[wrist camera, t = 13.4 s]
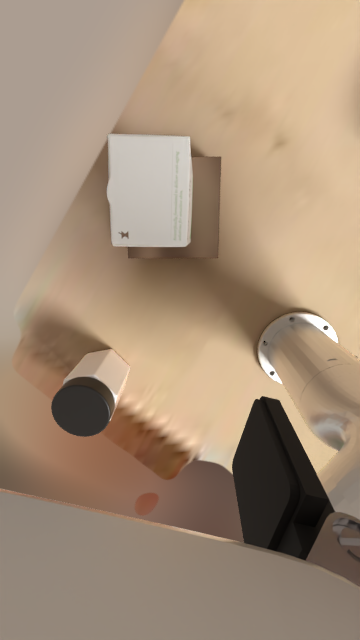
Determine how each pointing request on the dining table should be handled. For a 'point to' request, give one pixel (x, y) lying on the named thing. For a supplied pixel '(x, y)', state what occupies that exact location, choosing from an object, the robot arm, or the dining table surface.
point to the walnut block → (196, 216)
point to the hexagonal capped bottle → (90, 393)
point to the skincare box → (150, 190)
